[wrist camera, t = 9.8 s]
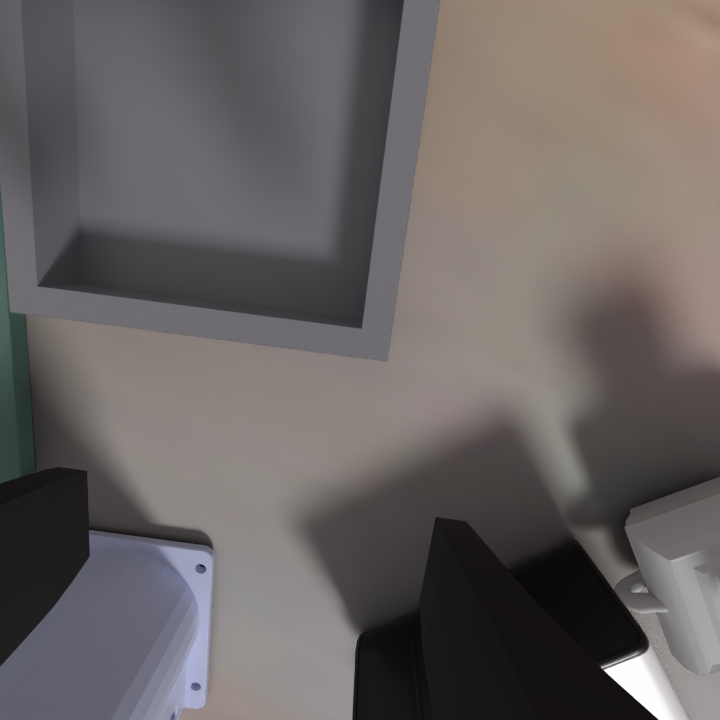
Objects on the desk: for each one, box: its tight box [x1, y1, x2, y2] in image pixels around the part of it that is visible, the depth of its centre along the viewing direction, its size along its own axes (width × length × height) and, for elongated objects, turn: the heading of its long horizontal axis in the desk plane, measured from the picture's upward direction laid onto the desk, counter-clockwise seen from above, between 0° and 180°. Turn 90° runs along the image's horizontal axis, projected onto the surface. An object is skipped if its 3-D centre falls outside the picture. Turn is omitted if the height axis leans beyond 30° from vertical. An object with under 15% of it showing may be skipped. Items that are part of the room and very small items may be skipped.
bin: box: [0, 0, 440, 361], centre depth 14 cm, size 13×13×3 cm
